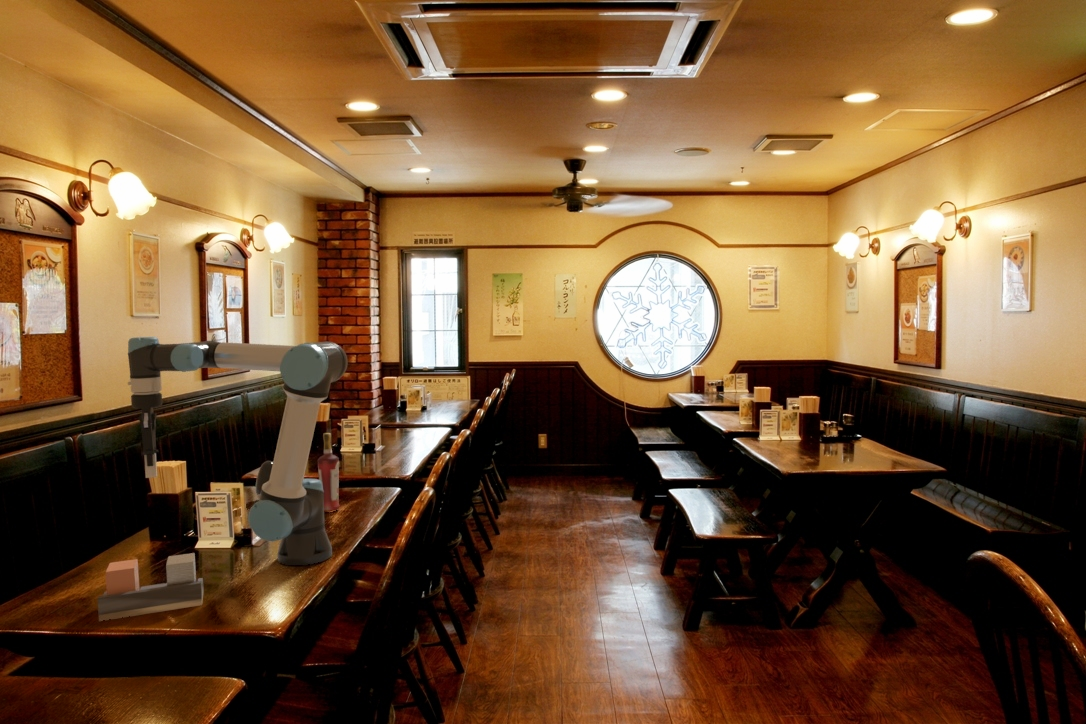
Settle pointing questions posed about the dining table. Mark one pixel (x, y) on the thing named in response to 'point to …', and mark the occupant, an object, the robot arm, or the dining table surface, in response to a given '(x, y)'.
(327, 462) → the liquor
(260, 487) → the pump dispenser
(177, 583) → the gray block
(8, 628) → the dining table surface
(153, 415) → the robot arm
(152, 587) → the base
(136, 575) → the terracotta plunger
